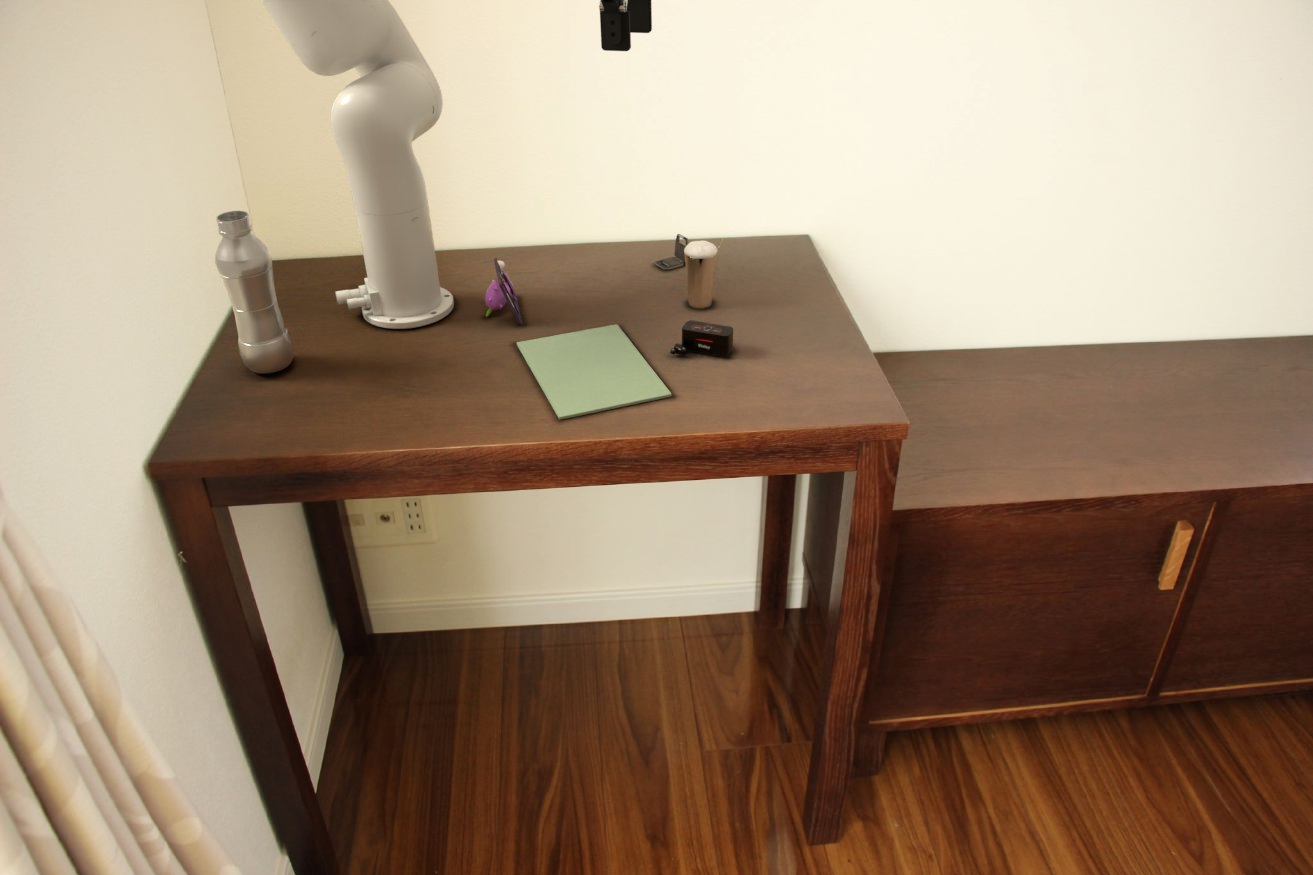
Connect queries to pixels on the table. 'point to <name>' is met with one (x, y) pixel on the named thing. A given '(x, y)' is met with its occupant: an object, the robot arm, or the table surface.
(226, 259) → the plastic bottle
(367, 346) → the table surface
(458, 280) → the table surface
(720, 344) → the wireless earbuds
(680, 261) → the strap clip
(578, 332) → the desk mat
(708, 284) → the milkshake
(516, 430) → the table surface
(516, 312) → the purple creature toy frame
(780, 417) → the table surface
